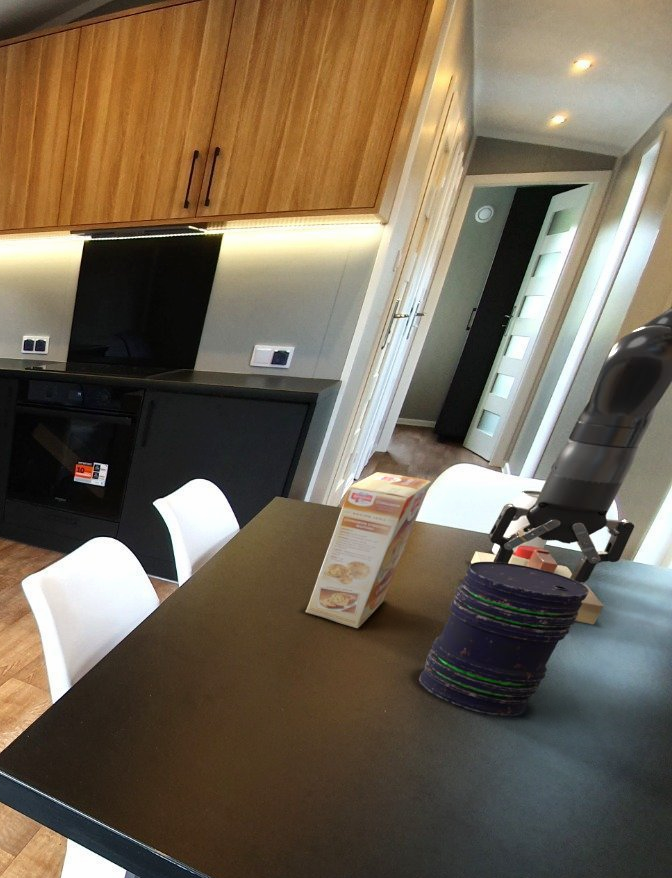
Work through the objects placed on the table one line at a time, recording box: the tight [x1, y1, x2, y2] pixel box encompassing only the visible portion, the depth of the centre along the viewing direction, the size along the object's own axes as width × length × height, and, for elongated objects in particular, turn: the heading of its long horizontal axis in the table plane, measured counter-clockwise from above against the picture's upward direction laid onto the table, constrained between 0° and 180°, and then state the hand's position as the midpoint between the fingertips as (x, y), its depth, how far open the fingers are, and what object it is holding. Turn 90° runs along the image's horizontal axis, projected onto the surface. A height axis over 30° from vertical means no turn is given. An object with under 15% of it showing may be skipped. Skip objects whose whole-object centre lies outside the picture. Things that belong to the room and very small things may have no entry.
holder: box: [527, 549, 559, 573], centre depth 98 cm, size 7×2×5 cm, turn 144°
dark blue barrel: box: [418, 562, 589, 717], centre depth 73 cm, size 10×10×15 cm
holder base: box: [465, 573, 604, 625], centre depth 100 cm, size 14×11×3 cm
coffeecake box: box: [305, 471, 433, 629], centre depth 93 cm, size 15×7×20 cm, turn 131°
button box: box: [470, 550, 573, 578], centre depth 109 cm, size 12×9×4 cm
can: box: [491, 490, 548, 555], centre depth 117 cm, size 6×6×12 cm
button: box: [515, 545, 545, 560], centre depth 108 cm, size 4×4×2 cm
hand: (535, 576), depth 99 cm, fingers open, 8 cm apart
